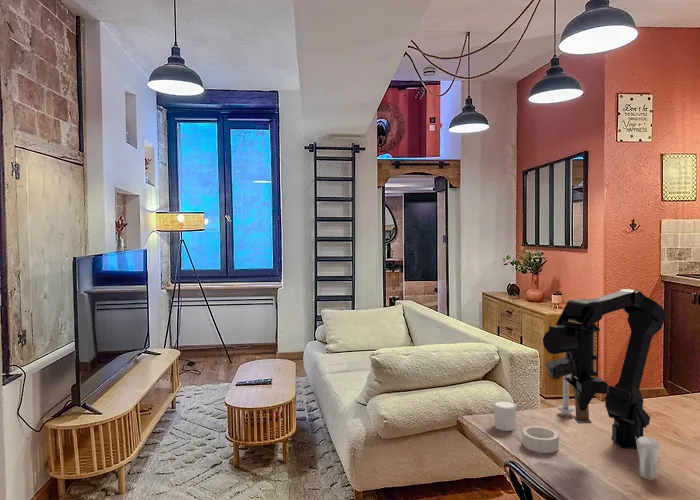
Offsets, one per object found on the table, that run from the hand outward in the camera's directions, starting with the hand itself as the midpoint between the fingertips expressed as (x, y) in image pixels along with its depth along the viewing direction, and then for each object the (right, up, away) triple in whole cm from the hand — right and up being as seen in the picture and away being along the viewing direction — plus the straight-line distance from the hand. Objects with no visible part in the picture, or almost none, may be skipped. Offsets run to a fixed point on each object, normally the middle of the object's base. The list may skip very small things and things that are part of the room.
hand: (581, 409), depth 122 cm
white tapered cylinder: (-13, -12, +20) cm, 27 cm away
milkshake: (+10, -13, -10) cm, 19 cm away
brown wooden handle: (0, -3, 0) cm, 3 cm away
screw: (+9, -12, +28) cm, 32 cm away
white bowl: (-8, -12, +7) cm, 16 cm away
